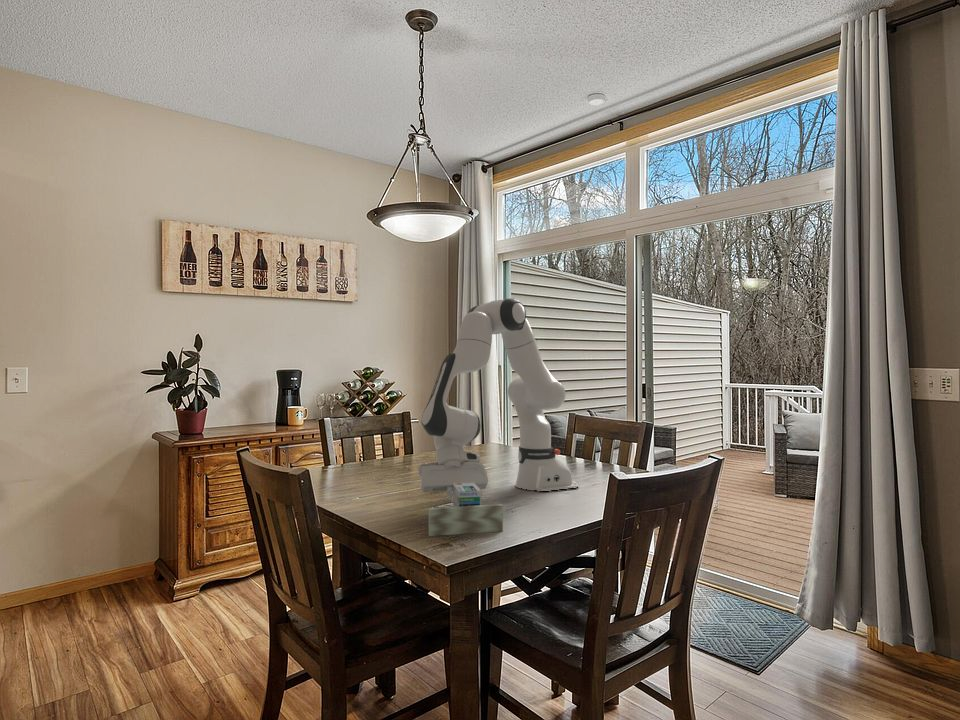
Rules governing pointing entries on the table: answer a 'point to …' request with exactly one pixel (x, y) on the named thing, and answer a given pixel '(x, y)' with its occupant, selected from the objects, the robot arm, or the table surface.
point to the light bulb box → (466, 494)
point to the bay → (465, 519)
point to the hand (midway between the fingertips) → (457, 502)
